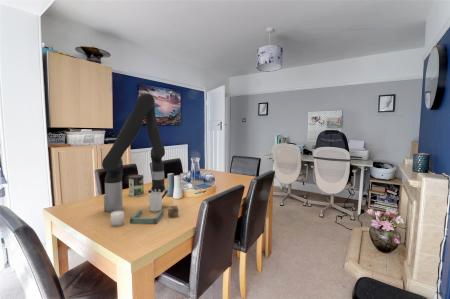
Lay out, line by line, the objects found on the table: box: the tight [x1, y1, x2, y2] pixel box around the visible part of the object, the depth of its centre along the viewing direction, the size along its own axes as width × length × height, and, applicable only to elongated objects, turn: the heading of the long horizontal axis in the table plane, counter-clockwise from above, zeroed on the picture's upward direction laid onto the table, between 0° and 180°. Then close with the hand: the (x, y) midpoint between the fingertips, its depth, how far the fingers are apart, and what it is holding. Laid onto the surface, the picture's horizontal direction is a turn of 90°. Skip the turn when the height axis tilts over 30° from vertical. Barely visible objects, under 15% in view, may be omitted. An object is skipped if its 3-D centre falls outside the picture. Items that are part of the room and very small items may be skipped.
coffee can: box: [128, 174, 145, 198], centre depth 164 cm, size 10×10×14 cm
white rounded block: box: [110, 210, 125, 227], centre depth 114 cm, size 6×6×6 cm
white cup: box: [148, 192, 163, 212], centre depth 135 cm, size 8×8×10 cm
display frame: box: [129, 209, 165, 225], centre depth 122 cm, size 14×12×2 cm
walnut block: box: [167, 205, 179, 219], centre depth 126 cm, size 5×5×5 cm
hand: (158, 204), depth 141 cm, fingers closed
